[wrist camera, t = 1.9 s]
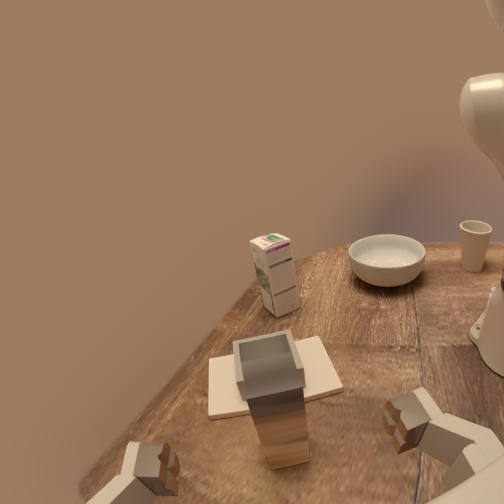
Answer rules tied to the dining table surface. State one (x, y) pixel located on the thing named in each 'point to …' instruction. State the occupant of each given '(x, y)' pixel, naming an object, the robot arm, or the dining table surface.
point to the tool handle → (277, 408)
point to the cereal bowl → (387, 259)
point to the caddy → (230, 367)
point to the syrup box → (276, 273)
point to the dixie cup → (474, 244)
